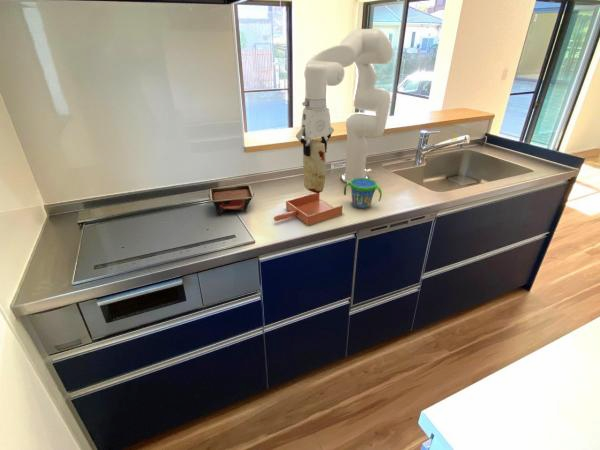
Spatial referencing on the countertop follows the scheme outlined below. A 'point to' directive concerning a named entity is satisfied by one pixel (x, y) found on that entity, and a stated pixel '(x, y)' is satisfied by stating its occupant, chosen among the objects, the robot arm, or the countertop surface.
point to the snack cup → (362, 191)
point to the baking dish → (231, 197)
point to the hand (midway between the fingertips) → (315, 153)
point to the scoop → (309, 209)
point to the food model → (314, 167)
